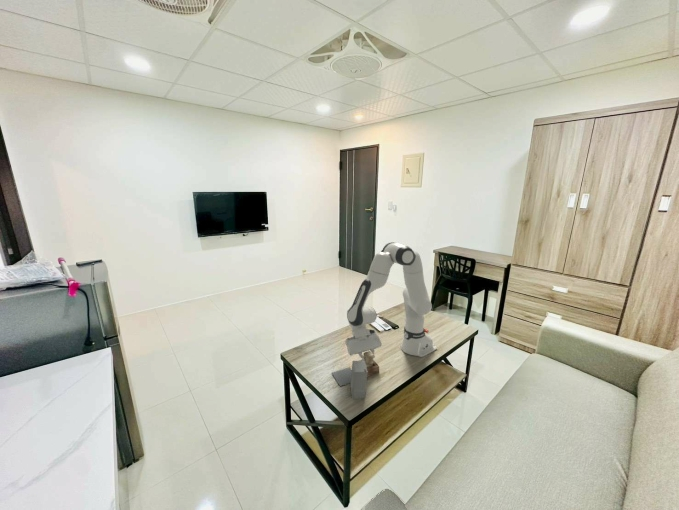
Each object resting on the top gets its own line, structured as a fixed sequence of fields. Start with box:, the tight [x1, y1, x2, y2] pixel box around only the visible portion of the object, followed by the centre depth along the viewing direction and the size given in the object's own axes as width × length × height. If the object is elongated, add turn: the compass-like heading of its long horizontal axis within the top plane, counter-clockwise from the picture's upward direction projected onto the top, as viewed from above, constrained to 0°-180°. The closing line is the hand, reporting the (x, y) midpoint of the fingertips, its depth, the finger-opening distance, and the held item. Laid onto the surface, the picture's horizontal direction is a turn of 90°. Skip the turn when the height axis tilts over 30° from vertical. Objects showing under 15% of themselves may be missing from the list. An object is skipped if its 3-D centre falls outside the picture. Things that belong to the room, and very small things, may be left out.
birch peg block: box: [362, 350, 375, 368], centre depth 150 cm, size 4×4×10 cm
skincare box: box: [349, 360, 368, 400], centre depth 132 cm, size 8×7×16 cm
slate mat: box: [331, 367, 352, 387], centre depth 145 cm, size 11×11×1 cm
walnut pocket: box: [358, 359, 380, 377], centre depth 150 cm, size 9×9×4 cm
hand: (368, 359), depth 149 cm, fingers closed on birch peg block, 4 cm apart
